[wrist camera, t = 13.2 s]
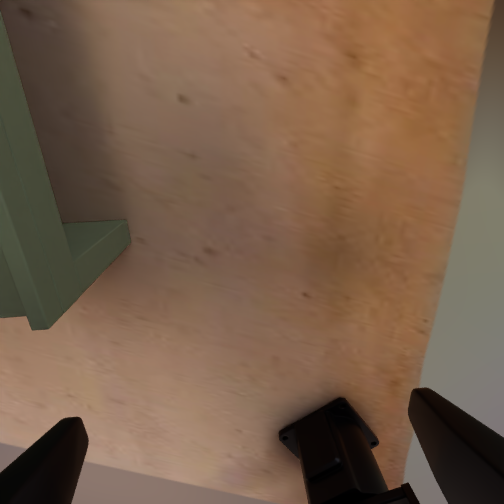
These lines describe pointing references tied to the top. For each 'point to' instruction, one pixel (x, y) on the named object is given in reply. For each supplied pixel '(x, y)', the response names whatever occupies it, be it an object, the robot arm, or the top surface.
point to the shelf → (40, 220)
